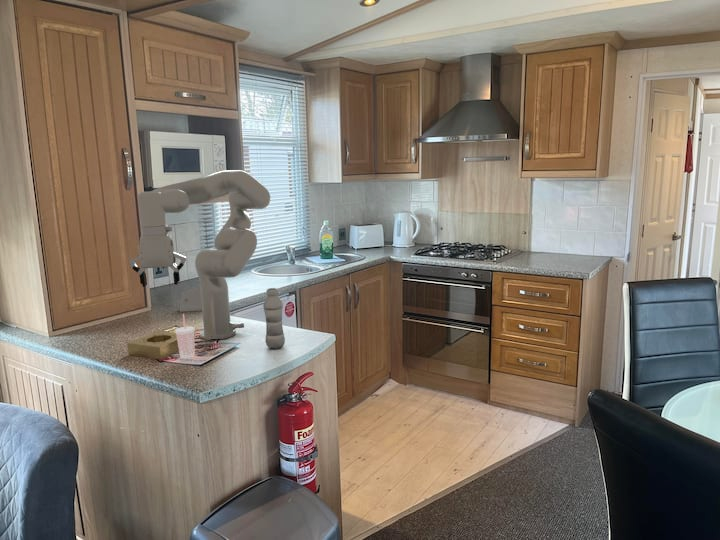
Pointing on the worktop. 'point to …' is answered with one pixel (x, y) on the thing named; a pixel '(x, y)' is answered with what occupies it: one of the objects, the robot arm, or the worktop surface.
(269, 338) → the plastic bottle
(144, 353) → the block
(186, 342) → the beverage cup
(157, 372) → the worktop surface
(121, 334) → the worktop surface
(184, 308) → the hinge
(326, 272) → the worktop surface
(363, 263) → the worktop surface
